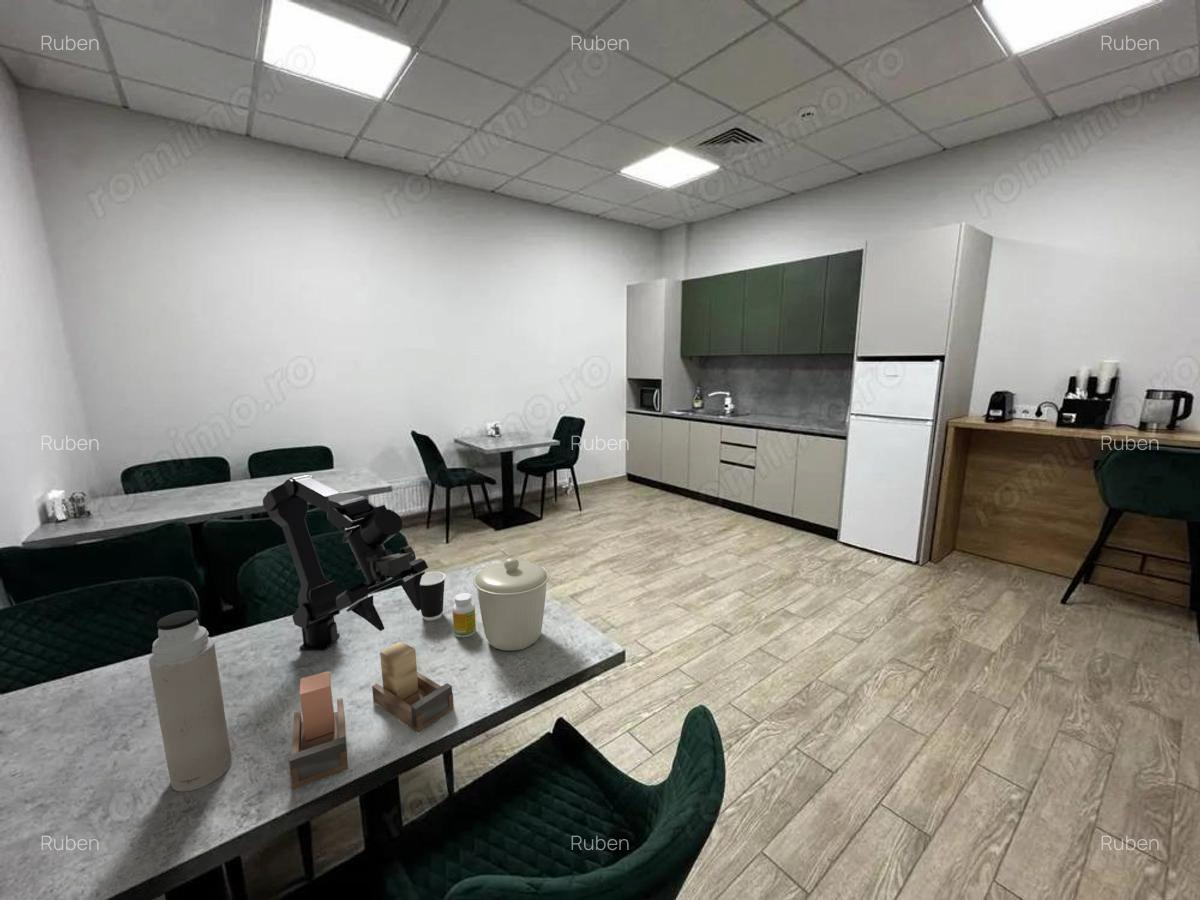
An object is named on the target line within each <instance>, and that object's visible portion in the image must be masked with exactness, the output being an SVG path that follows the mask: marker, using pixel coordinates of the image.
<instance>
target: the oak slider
mask: <svg viewBox="0 0 1200 900" xmlns="http://www.w3.org/2000/svg"><path fill="white" fill-rule="evenodd" d="M416 651H417V650H416V648H414V647H412V646H410V645H409V644H407V643H405V642H404V641H401V640H400V641H399V642H396V643H394V644H393V645H390V646H388V647H386V648H384V649H383V650H381V651H379V655H380V668H381V678H382V687H383V688H385V689H386V690H387V691H389V692H390V693H392V694H393V695H395V696H396V697H398V698H399V699H401V700H403V699H405V698H406V697H408V696H410V695H411V694H413V693H415V692H416V691H418V679H417V672H418V668H417V666H418V665H417V653H416Z"/></svg>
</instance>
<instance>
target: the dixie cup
mask: <svg viewBox="0 0 1200 900" xmlns="http://www.w3.org/2000/svg"><path fill="white" fill-rule="evenodd" d="M446 577H447V576H446V574H445V573H444V572H441V571H428V572H425V574H424V575H422V578H421V581H420V598H421V610H420V612H421V616H422V618H423V620H425V621H435V620H438V619H441V617H442V615H443V611H444V596H445V580H446Z"/></svg>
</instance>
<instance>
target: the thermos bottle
mask: <svg viewBox="0 0 1200 900" xmlns="http://www.w3.org/2000/svg"><path fill="white" fill-rule="evenodd" d="M198 618H199V613H198V612H197V611H196V610H194V609H193V610H192V609H191V610H190V609H189V610H181V611H176V612H173V613H170V614H168V615H166V616H163V617H162V618H160V619H159V620H158V621H157V622H156V625H157V626H156V627H157V629H158V630H157V634H158V638H156V639H155V640H154V641H153V643H152V649H151V652H152V654H151V655H150V656H149V658H148V664H149V665H148V666H149V670H150V676H151V681H152V687H153V692H154V698H155V705H156V709H157V710H156V711H157V715H158V719H159V725H160V726H159V727H160V731H161V737H162V743H163V748H164V753H165V759H166V760H165V761H166V765H167V770H168V776H169V781H170V787H171V788H172V790H174V791H176V792H183V793H184V792H190V791H194V790H198V789H201V788H203V787H206V786H207V785H210V784H211V783H213V782H214V781H216V780H217V779H219V778H221V777H222V775H224V774H225V772H227V770H229V768H230V767H231V764H232V763H233V757H232V756H233V755H232V749H231V743H230V737H229V730H228V725H227V720H226V712H225V704H224V698H223V697H224V696H223V691H222V685H221V684H222V683H221V677H220V672H219V665H218V664H219V663H218V659H217V652H216V645H215V644H216V643H215V641H214V639H213V637H210V636H209V635H210V634H209V631H208V630H207V628H206V627H204V626H202V625H200V623H199V621H198Z"/></svg>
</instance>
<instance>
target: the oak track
mask: <svg viewBox="0 0 1200 900" xmlns="http://www.w3.org/2000/svg"><path fill="white" fill-rule="evenodd" d="M417 679H418V691H416V692H415V693H413V694H411V695H410V696H408V697H406V698H405V699H403V700H401V699H399V698H398V697H396V696H395V695H393V694H392V693H390V692H389V691H387V690H386V689H385V688H383V685H380V684H378V683H377V682H376V683H375V684H373V685H371V688H372V690H371V691H372V699H373V702H374V703H375V704H377V706H379V707H381V708H382V709H383V710H385V711H386V712H387V713H389V714H390V715H392V716H393V717H394V718H395V719H397V720H399V721H400V722H401V723H402V724H403V725H405V726H407V727H408V728H410V729H411V730H412V731H414V732H415V733H416V734H420V733H421V732H423V731H424V730H426V729H427V728H428V727H431V725H433V724H434V723H436V722H437V721H439V720H440V719H441V718H443V717H445V716H446V715H447V714H449V713H451V712H452V711H453V710H454V709H455V708H454V707H455V706H454V705H455V704H454V693H453V685H451V684H450V683H448V682H446V683H445V684H442V685H440V684H438V683H437V682H436V681H434V680H432V679H431V678H428V677H427V676H425V675H424V674H422V673H420V672H419V671H417Z"/></svg>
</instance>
